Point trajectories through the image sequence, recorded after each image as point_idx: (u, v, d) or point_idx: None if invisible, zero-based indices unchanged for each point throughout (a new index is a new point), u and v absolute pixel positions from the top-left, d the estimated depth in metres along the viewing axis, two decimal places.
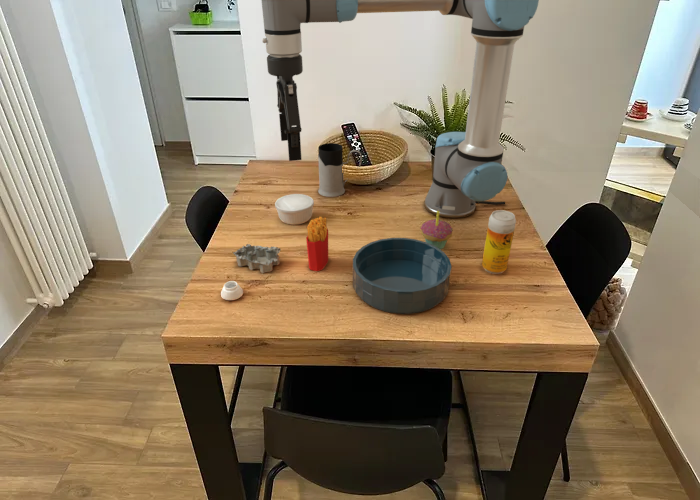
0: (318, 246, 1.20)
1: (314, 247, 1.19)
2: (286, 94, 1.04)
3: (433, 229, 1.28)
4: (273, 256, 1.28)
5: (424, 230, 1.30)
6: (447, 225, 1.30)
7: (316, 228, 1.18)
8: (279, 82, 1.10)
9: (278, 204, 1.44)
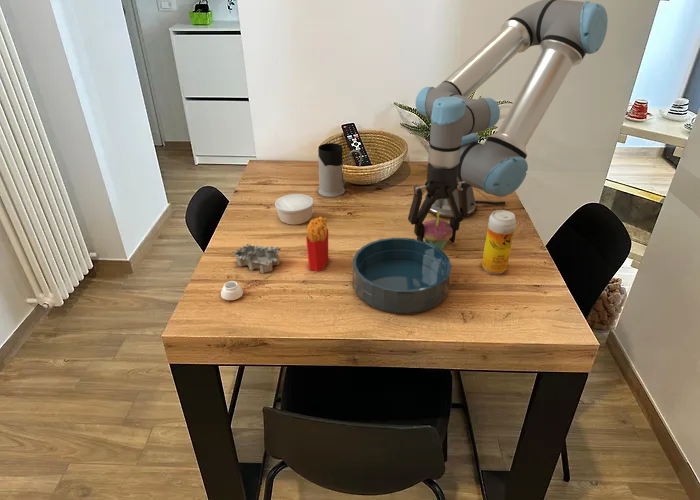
0: (318, 246, 1.20)
1: (314, 247, 1.19)
2: (414, 193, 1.25)
3: (433, 229, 1.28)
4: (273, 256, 1.28)
5: (424, 230, 1.30)
6: (447, 225, 1.30)
7: (316, 228, 1.18)
8: None
9: (278, 204, 1.44)
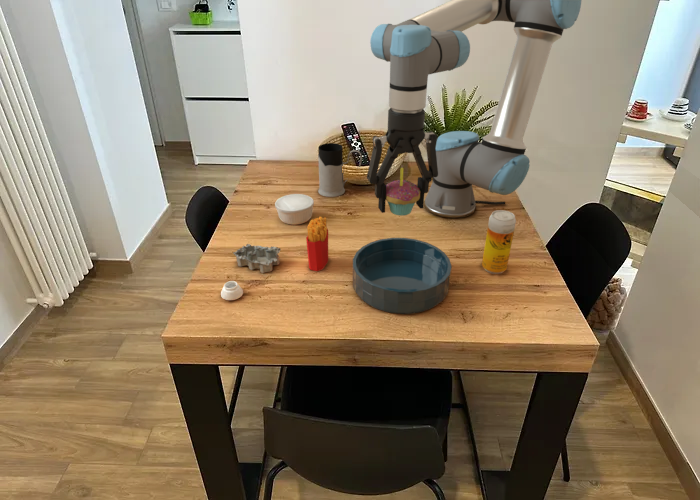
0: (318, 246, 1.20)
1: (314, 247, 1.19)
2: (373, 145, 1.05)
3: (396, 190, 1.08)
4: (273, 256, 1.28)
5: (386, 192, 1.10)
6: (413, 186, 1.10)
7: (316, 228, 1.18)
8: None
9: (278, 204, 1.44)
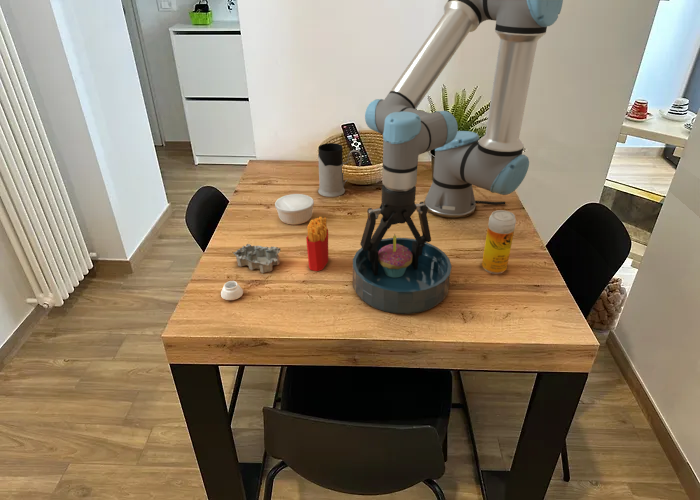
0: (318, 246, 1.20)
1: (314, 247, 1.19)
2: (368, 216, 1.13)
3: (390, 255, 1.16)
4: (273, 256, 1.28)
5: (381, 257, 1.17)
6: (406, 251, 1.18)
7: (316, 228, 1.18)
8: None
9: (278, 204, 1.44)
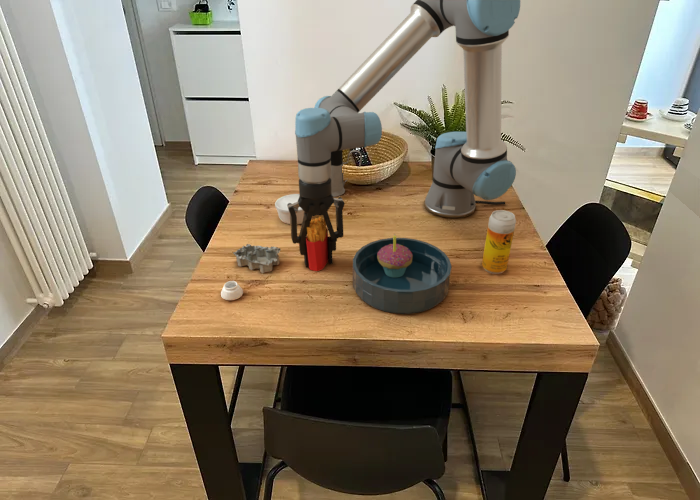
0: (318, 246, 1.20)
1: (314, 247, 1.19)
2: None
3: (390, 255, 1.16)
4: (273, 256, 1.28)
5: (381, 257, 1.17)
6: (406, 251, 1.18)
7: (316, 228, 1.18)
8: None
9: (278, 204, 1.44)
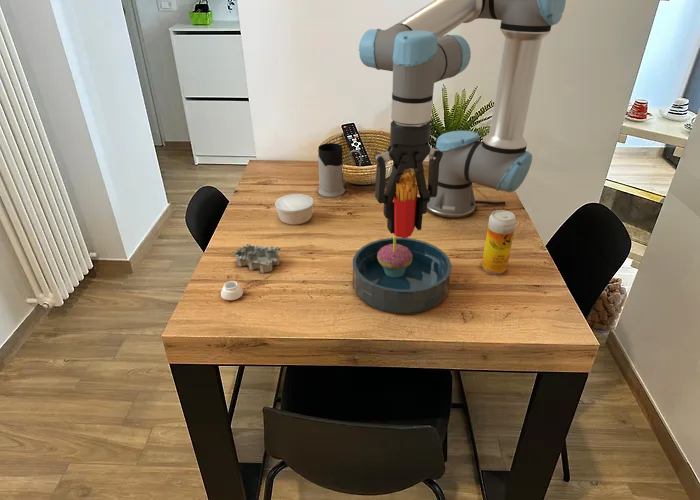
0: (409, 206, 0.99)
1: (404, 207, 0.99)
2: (376, 163, 0.98)
3: (390, 255, 1.16)
4: (273, 256, 1.28)
5: (381, 257, 1.17)
6: (406, 251, 1.18)
7: (407, 184, 0.98)
8: None
9: (278, 204, 1.44)
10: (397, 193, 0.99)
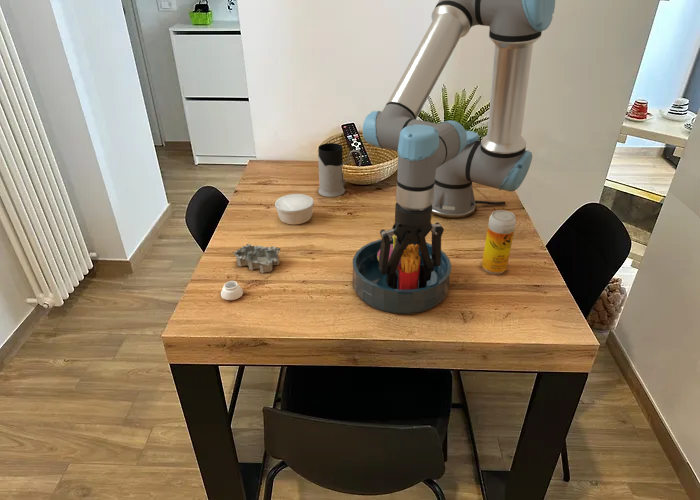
0: (413, 277, 1.07)
1: (409, 279, 1.07)
2: None
3: (390, 255, 1.16)
4: (273, 256, 1.28)
5: None
6: None
7: (412, 258, 1.06)
8: None
9: (278, 204, 1.44)
10: (402, 265, 1.07)
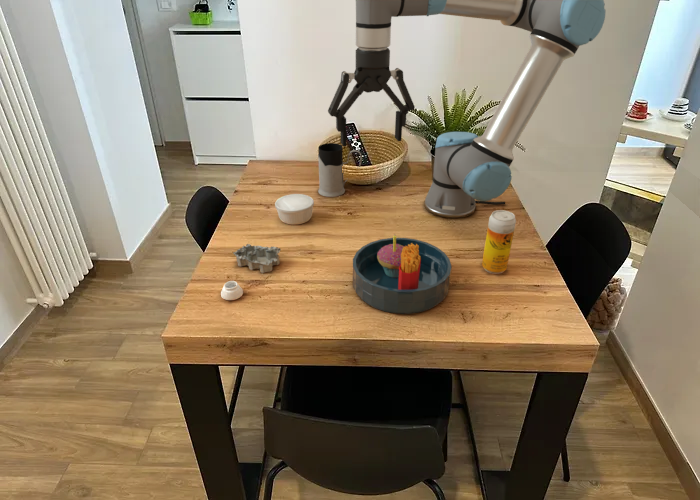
0: (413, 277, 1.07)
1: (409, 279, 1.07)
2: (341, 80, 1.11)
3: (390, 255, 1.16)
4: (273, 256, 1.28)
5: (381, 257, 1.17)
6: None
7: (412, 258, 1.06)
8: None
9: (278, 204, 1.44)
10: (402, 265, 1.07)
